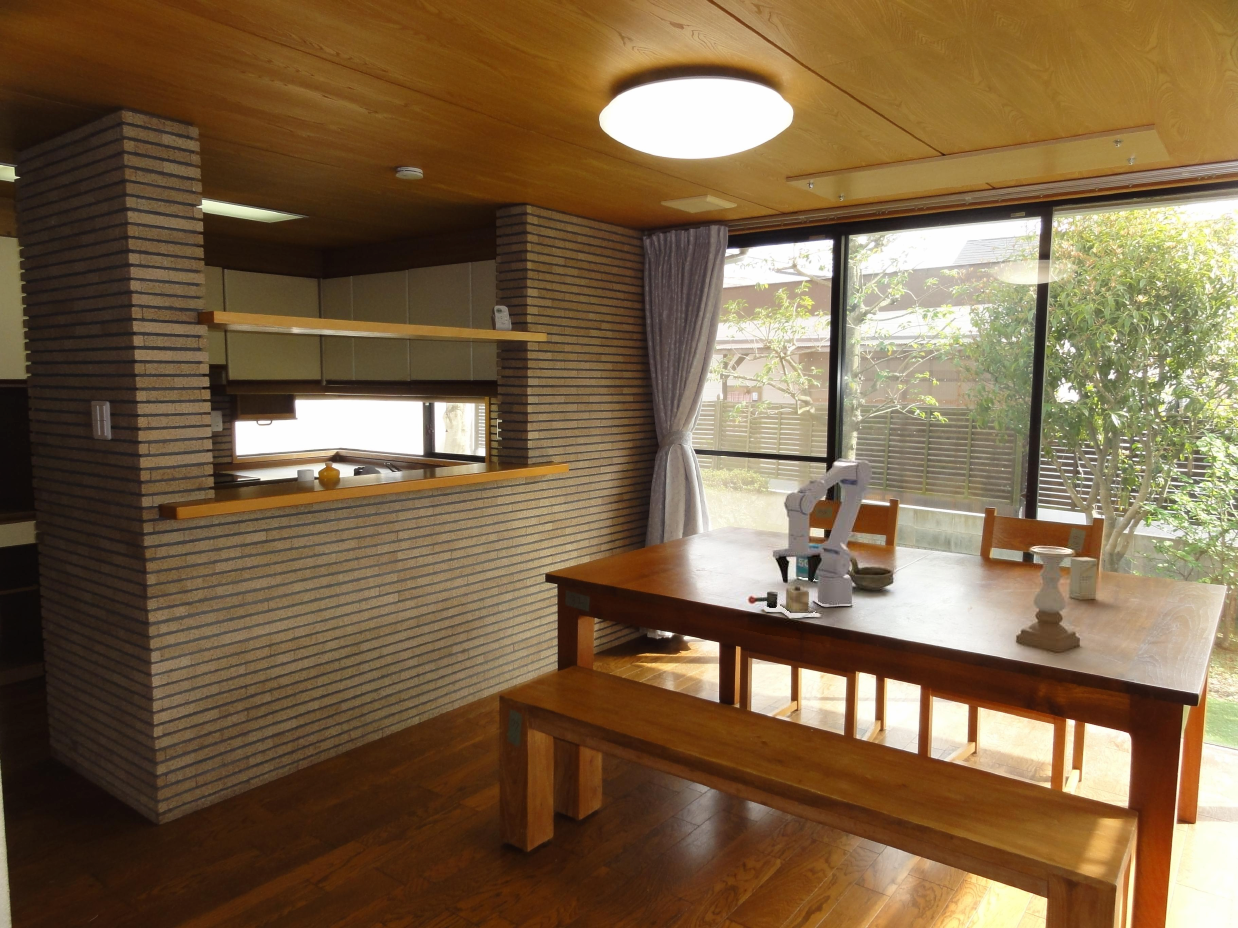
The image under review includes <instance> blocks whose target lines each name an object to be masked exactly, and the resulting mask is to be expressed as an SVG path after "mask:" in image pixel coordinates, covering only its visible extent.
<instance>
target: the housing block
mask: <svg viewBox="0 0 1238 928" xmlns="http://www.w3.org/2000/svg"><path fill="white" fill-rule="evenodd" d="M809 601H810V591H808V590H807V589H805V588H804V587H802V586H798V585H797V586H796V585H795V586H794V587H786V588H785V604H786V605H787V606H788V607H790V608H791V609H793V610H801V609H809V607H810V605H809V604H810V602H809Z"/></svg>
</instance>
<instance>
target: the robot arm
mask: <svg viewBox="0 0 1238 928" xmlns="http://www.w3.org/2000/svg"><path fill="white" fill-rule="evenodd" d="M831 466H832V467H831V468H830V469H829V470H828V471H827V472H825V473H824V475H822V477H821V478H820V479H818V478H811V479H810V480H809V482H808V483H807V484H805V485H804V486H803V487H800V488H799V489H798V490H797V491H792V492H790V493H789V494H787V495H786V497H785V501H784V502H783V504H784V505H783V506H784V508H785V510H786V516H787V518H788V532H787V533H788V538H787V539H788V543H787V544H788V545H787V547H788V548H782V549H776V550H775V549H773V550H772V557H773V558H774V559H775V561H776V564H777V566H778V567H779V571H780V574H781V578H782V579H781V580H782V582H783V583H784V584H788V583H789V568H790V567H789V566H790V560H788V558H796V557H806V556H807V560H808V582H811V583H813V580H814V576H815V573H817V574H818V582H817V599H818V602H820V603H822V604H829V605H837V604H838V605H839V604H853V582H852V581H851V578H850V576H849V575H847V574H846V573H847V572H848V570H850V568H851V561H850V558H851V555H852V553H851V551H850V549H849V548H848V547H847V545H848V542H849V540H850V536H851V534H852V530H853V527H854V525H855V522H856V519H857V516H858V514H859V511H860V507H861V505H862V503H863V501H864V500H863V499H864V498H865V497H864V496H865V493H866V491H867V490H868V487H869V484H870V481H871V478H872V475H873V471H872V466H871V464H870V462H869V461H868V460H859V459H858V460H857V459H848V458H847V459H846V458H845V459H844V458H838V459H837V460H835V461H834V462H833V463H832V465H831ZM837 483H838V484H839V486H840V488H841V489H842V490H844V495H843V498H842V502H841V504H840V506H839V509H838V512H837V515H836V518H835V520H834V523H833V526H832V529H831V532H830V535H829V537H828V540H825V541H824V542H822V543H819V544H820V545H819V548H818V549H815V548H809V543H810V513H811V514H812V512H813V510H814V508H815V506H816V504H817V503H818V502H819V501H820V500H821V499H823V498H824V497H826V495H827V494H828V489H830V488H831V487H833V486H834V485H836V484H837Z"/></svg>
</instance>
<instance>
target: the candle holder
mask: <svg viewBox="0 0 1238 928" xmlns="http://www.w3.org/2000/svg"><path fill="white" fill-rule="evenodd" d="M1028 551H1029V553H1030V554H1031V555H1034V556H1035V555H1036V556H1039V559H1040V561H1041V562H1042V565H1043V566H1042V567H1043V568H1042V570H1041V571H1040V572H1039V574H1038V575H1039V577H1040V578H1041V581H1042V585H1041V587H1040V589H1039V590H1038V591H1037V592H1036V593H1035V595H1034V596H1033V597H1034V598H1033V600H1032V601H1033V602H1032V603H1033V606H1034V607H1035V608H1036V609H1037V611H1036V613H1035V615H1034V616H1035V619H1036V620H1037V621H1035V622H1033V623H1031V624H1030V625H1029V626H1026V627H1024V628H1022V629H1020V633H1018V634H1015V635H1016V637H1015V638H1016V639H1015V642H1016V643H1018V644H1022V645H1024V646H1025V645H1026V646H1029V647H1032V648H1038V649H1041V650H1046V651H1048V652H1053V653H1058V654H1059V653H1063V652H1066V651H1069V650H1070V649H1073V648H1077V647H1079V646H1080V645H1081V637H1079V636H1077V632H1076V631H1074V630H1070V629H1067V628H1066V627H1065V626H1064V625H1062V624H1061V623H1062V622H1063V619H1064V618H1063V615H1062V614H1061V612H1062V611H1064V610H1065V608H1066V607H1067V601H1066V599H1065V596H1064V595H1063V593H1062V592H1061V589H1060V588H1059V583H1060V581H1061V579H1062V578H1063V574H1062V573H1061V571H1060V566H1061V564H1062V563H1063V562H1064V559H1065V558H1074V556H1076V551H1075V550H1073V549H1071V548H1065V547H1060V546H1052V545H1051V546H1048V545H1047V546H1046V545H1036V546H1030V548H1029V549H1028Z"/></svg>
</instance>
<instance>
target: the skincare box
mask: <svg viewBox="0 0 1238 928" xmlns="http://www.w3.org/2000/svg"><path fill="white" fill-rule="evenodd" d="M1069 565H1070V567H1069V569H1070V570H1069V571H1070V572H1069V586H1068V597H1069V598H1071V599H1076V600H1080V601H1081V600H1095V599H1096V596H1097V595H1096V594H1097V577H1098V576H1097V575H1098V559H1097V558H1092V557H1087V556H1086V557H1085V556H1084V557H1082V556H1081V557H1070V564H1069Z"/></svg>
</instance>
